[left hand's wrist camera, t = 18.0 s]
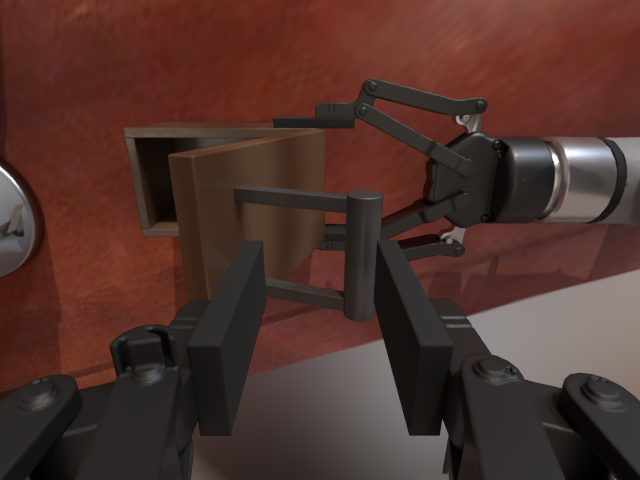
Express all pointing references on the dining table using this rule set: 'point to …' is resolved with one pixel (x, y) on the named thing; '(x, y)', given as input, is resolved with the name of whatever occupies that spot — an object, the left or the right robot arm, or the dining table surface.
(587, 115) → the dining table surface
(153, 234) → the chest
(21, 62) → the dining table surface
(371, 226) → the lid
